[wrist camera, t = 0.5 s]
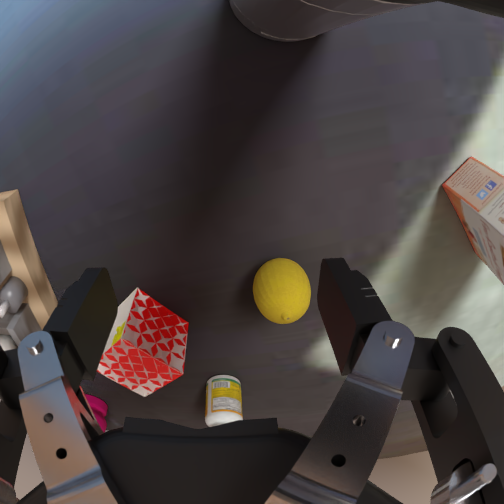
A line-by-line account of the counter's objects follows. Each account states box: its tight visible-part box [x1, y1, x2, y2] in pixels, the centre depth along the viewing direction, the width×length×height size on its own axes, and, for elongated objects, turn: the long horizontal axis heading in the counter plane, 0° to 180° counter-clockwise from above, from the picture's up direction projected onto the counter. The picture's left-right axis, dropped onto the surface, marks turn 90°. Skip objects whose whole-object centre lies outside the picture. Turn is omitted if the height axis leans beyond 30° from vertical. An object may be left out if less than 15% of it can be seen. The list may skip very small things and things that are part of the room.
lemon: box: [253, 258, 311, 324], centre depth 30 cm, size 6×6×8 cm
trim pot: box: [0, 276, 28, 318], centre depth 27 cm, size 3×3×5 cm
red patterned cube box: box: [97, 288, 189, 397], centre depth 34 cm, size 8×8×8 cm
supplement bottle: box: [205, 375, 243, 427], centre depth 41 cm, size 5×5×10 cm
